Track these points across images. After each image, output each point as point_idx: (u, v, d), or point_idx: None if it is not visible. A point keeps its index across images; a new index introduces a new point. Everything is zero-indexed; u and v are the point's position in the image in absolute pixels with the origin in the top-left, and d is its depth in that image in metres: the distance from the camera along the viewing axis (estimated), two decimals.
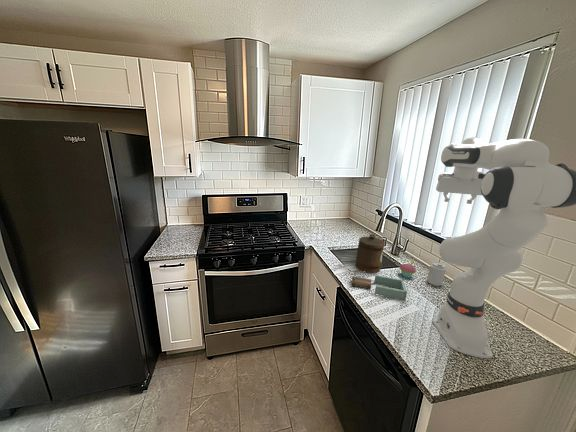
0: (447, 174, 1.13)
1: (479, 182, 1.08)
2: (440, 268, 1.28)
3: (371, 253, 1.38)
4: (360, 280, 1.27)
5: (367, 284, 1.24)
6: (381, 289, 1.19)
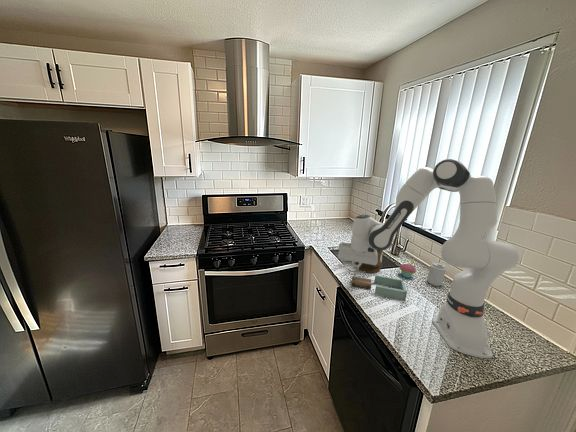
0: (345, 244, 1.26)
1: (370, 254, 1.21)
2: (440, 268, 1.27)
3: None
4: (360, 280, 1.27)
5: (367, 284, 1.24)
6: (381, 289, 1.19)
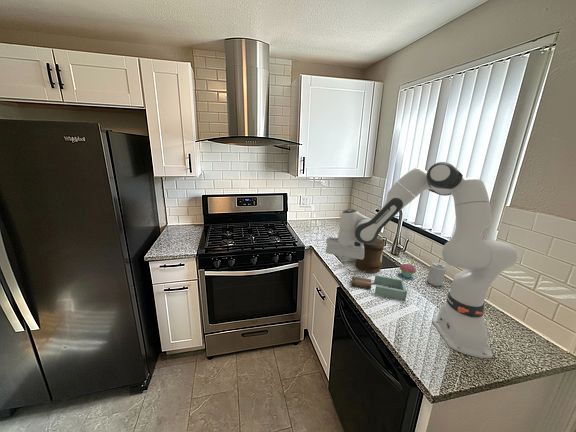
0: (332, 238, 1.27)
1: (356, 248, 1.22)
2: (440, 268, 1.28)
3: (371, 253, 1.38)
4: (360, 280, 1.27)
5: (367, 284, 1.24)
6: (381, 289, 1.19)
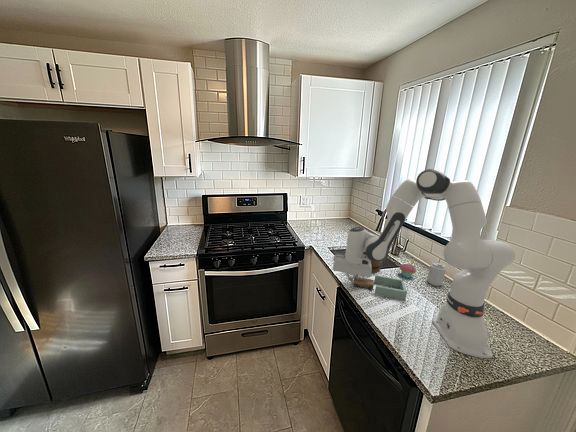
0: (340, 256, 1.27)
1: (364, 266, 1.23)
2: (440, 268, 1.28)
3: None
4: (362, 280, 1.26)
5: (369, 284, 1.24)
6: (381, 289, 1.19)
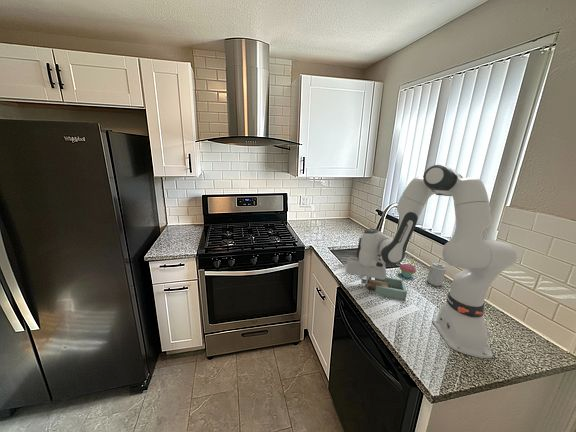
0: (353, 258, 1.25)
1: (378, 268, 1.21)
2: (440, 268, 1.28)
3: None
4: (376, 283, 1.24)
5: None
6: (381, 289, 1.19)
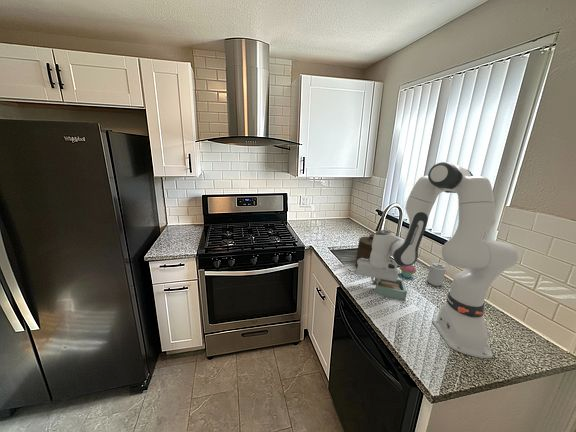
0: (364, 260, 1.24)
1: (390, 270, 1.19)
2: (440, 268, 1.28)
3: None
4: (387, 285, 1.23)
5: None
6: (381, 289, 1.19)
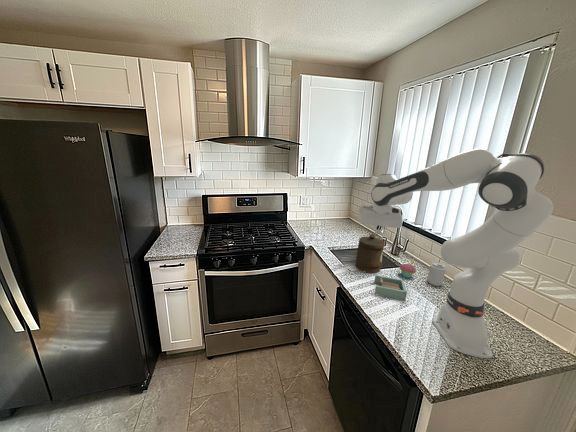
0: (366, 207, 1.18)
1: (394, 216, 1.14)
2: (440, 268, 1.28)
3: (371, 253, 1.38)
4: (387, 285, 1.23)
5: None
6: (381, 289, 1.19)
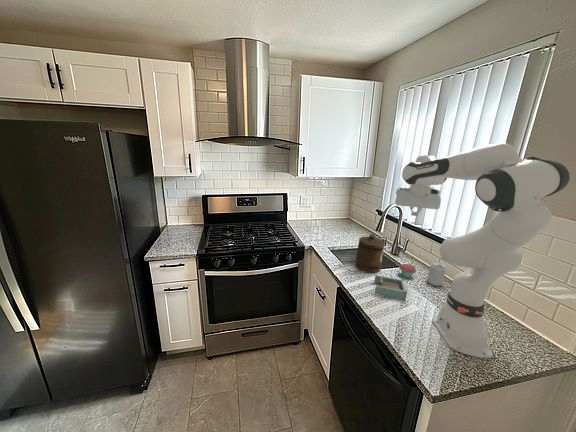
0: (404, 189, 1.20)
1: (432, 197, 1.15)
2: (440, 268, 1.28)
3: (371, 253, 1.38)
4: (387, 285, 1.23)
5: None
6: (381, 289, 1.19)
